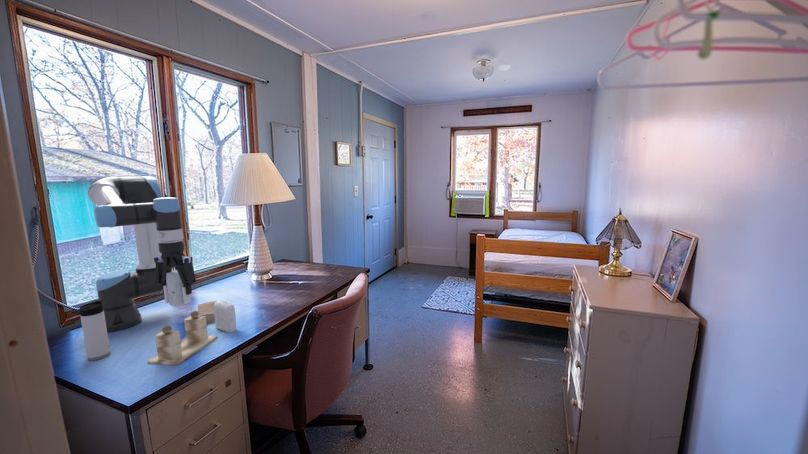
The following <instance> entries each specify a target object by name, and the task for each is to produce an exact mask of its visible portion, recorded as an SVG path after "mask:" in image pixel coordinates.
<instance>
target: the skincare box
mask: <svg viewBox="0 0 808 454" xmlns="http://www.w3.org/2000/svg"><path fill="white" fill-rule="evenodd" d="M166 283H167V292H168V301H169V303H168V305H170V306H172V307H174V308H177V307H182V306H184V305H186V304H184V300H183V292H182V286H184V285H183V282H182V280H181V278H180V276H179V274H178V271H177V270H176V269H174V270H172V271H171V272H168V273H166Z"/></svg>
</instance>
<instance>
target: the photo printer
mask: <svg viewBox="0 0 808 454" xmlns="http://www.w3.org/2000/svg"><path fill="white" fill-rule="evenodd" d="M216 301H217V302H215V304H214V316H215V322H214V324H215V328H216V329H218V330H220V331H222V332H226V333H232V332H235V331H236V329H237V319H236V318H237V317H236V309H235V308H236V307H235V305H234V304H233V303H232V302H229V301H227V300H216Z"/></svg>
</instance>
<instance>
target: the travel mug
mask: <svg viewBox="0 0 808 454" xmlns="http://www.w3.org/2000/svg"><path fill="white" fill-rule="evenodd" d="M78 309H79V316H80V323H81V328H82V333H83V340H84V345H85V351H86V357H87V360H88V361H98V360H100V359H101V360H102V359H104V358H107V357H108V356H109V355H110V354H111V348H110V342H109V334H108V332H107V328H106V322H105V315H104V310H103V304H102V302H101V301H99V300H95V301H92V302H88V303H84V304H82V305H81V306H80V307H79V308H78Z"/></svg>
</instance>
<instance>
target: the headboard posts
mask: <svg viewBox="0 0 808 454" xmlns="http://www.w3.org/2000/svg"><path fill="white" fill-rule="evenodd" d="M198 315H199V313H198V310H193V311H191V313H190V316H187V318H184V319H183V320H184V321H183V322H184V330H185V337H184V338H182V339H181V333H180V330H172V329H173V328H172V326H171V325H169V324H168V325H164V326H163V327H162V329H161V331H160V332H158V333H157V334H155V335H154V336H155V337H154V339H155V344H156V350H157V351H156V352H157V353H156V355H154V356H153V357H150V359H148V360H147V361H146V363H147V364H154V365H155V364H157V365H166V366H179V365H181V364H182V363H184V362H186V361H187V360H188V359H190V358H191V357H192V356H194V355H196V353H199V352H200V351H201V350H202V349H204V348H205V347H207V346H208V345H210V344H211V343H212V342H214V341H215V340H217V339H218V335H208V334H209V333H208V326H207V325H208V323H206V316H198ZM186 359H187V360H186Z"/></svg>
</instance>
